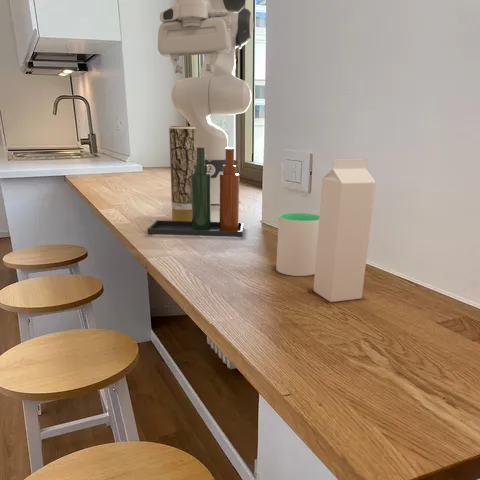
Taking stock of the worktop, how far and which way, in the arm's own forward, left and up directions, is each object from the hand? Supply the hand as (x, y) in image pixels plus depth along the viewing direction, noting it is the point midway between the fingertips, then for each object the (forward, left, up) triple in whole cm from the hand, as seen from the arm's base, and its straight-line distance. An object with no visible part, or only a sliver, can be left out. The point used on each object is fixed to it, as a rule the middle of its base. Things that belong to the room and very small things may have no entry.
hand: (194, 72), depth 133 cm
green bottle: (+23, +4, -38) cm, 44 cm away
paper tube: (+11, -2, -38) cm, 40 cm away
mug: (+53, +28, -38) cm, 71 cm away
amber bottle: (+23, +11, -38) cm, 45 cm away
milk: (+68, +32, -38) cm, 84 cm away
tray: (+23, +3, -38) cm, 45 cm away
